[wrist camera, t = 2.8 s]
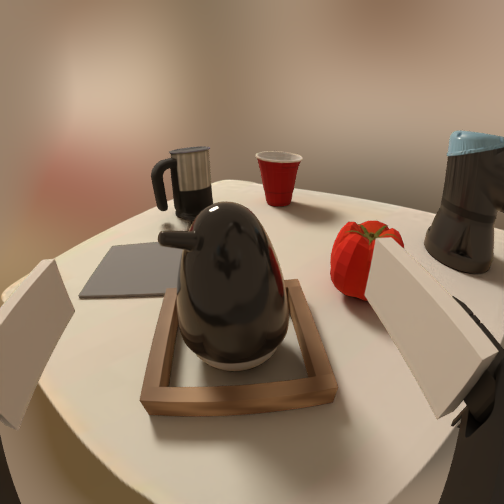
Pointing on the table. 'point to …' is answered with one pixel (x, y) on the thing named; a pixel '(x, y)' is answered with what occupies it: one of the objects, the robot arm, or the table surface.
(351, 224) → the tomato
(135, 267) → the rubber mat
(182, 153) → the milk frother
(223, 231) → the pump dispenser
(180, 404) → the walnut collar
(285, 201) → the plastic cup
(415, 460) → the table surface
